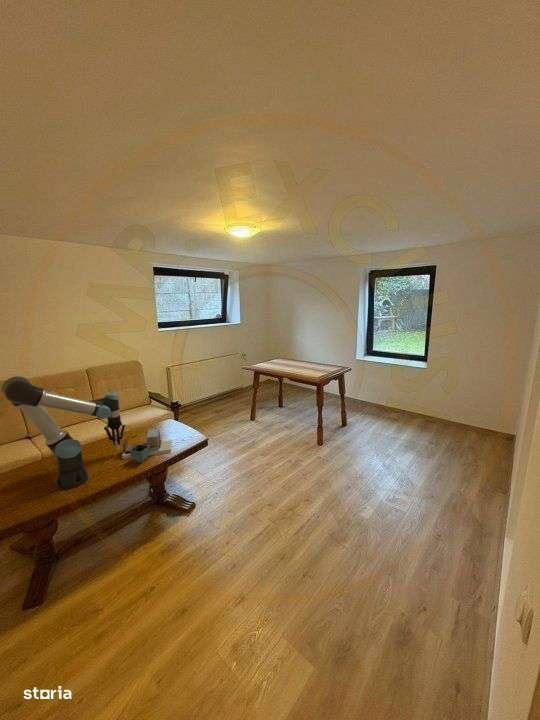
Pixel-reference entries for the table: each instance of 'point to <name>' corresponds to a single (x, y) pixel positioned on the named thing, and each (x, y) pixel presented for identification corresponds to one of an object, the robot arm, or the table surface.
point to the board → (164, 449)
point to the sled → (128, 447)
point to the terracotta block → (153, 442)
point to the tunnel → (153, 434)
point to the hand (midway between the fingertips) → (117, 449)
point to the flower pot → (139, 453)
